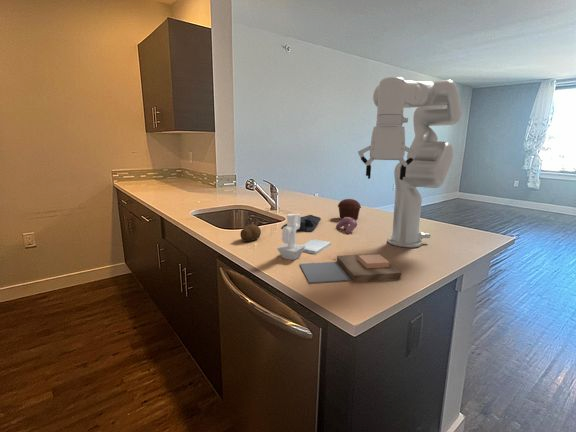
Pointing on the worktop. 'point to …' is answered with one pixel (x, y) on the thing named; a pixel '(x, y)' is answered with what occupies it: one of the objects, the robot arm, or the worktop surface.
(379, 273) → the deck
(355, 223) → the purple crystal rock
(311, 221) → the dark slate chunk
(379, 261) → the tile
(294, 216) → the figurine
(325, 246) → the hard drive
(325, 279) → the mat
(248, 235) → the potato
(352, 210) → the muffin
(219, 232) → the worktop surface
